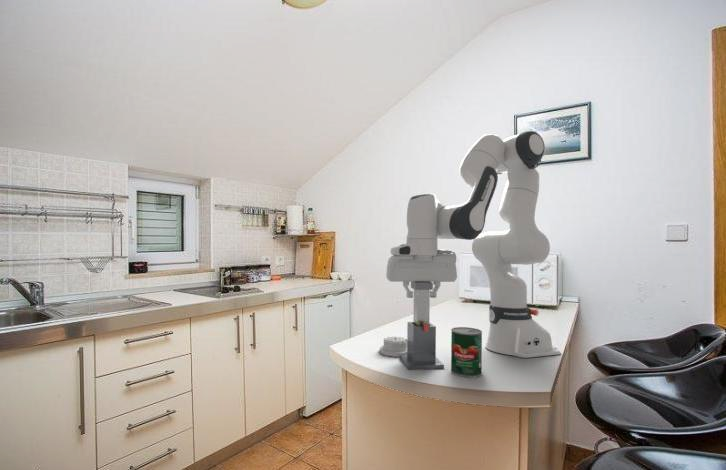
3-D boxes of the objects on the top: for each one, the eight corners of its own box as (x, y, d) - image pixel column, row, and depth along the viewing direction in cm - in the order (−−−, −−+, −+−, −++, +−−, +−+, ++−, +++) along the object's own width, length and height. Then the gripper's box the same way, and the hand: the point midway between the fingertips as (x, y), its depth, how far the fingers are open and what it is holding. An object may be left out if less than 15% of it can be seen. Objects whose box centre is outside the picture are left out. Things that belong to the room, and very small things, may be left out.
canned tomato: (455, 377, 89) (455, 333, 89) (447, 366, 97) (447, 326, 97) (486, 377, 89) (486, 334, 90) (476, 367, 97) (476, 327, 97)
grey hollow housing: (432, 357, 105) (432, 317, 106) (444, 368, 95) (444, 324, 96) (399, 358, 104) (400, 317, 104) (408, 369, 94) (408, 324, 94)
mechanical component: (412, 358, 104) (411, 349, 114) (412, 343, 105) (411, 335, 114) (378, 357, 105) (380, 348, 115) (378, 342, 106) (380, 334, 116)
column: (426, 339, 103) (427, 280, 103) (432, 343, 98) (432, 282, 98) (410, 339, 102) (410, 280, 103) (415, 344, 97) (415, 282, 98)
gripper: (452, 249, 105) (451, 295, 105) (385, 248, 103) (384, 296, 102) (460, 249, 99) (460, 298, 99) (389, 248, 96) (389, 299, 96)
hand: (421, 297), depth 100 cm, fingers open, 5 cm apart
